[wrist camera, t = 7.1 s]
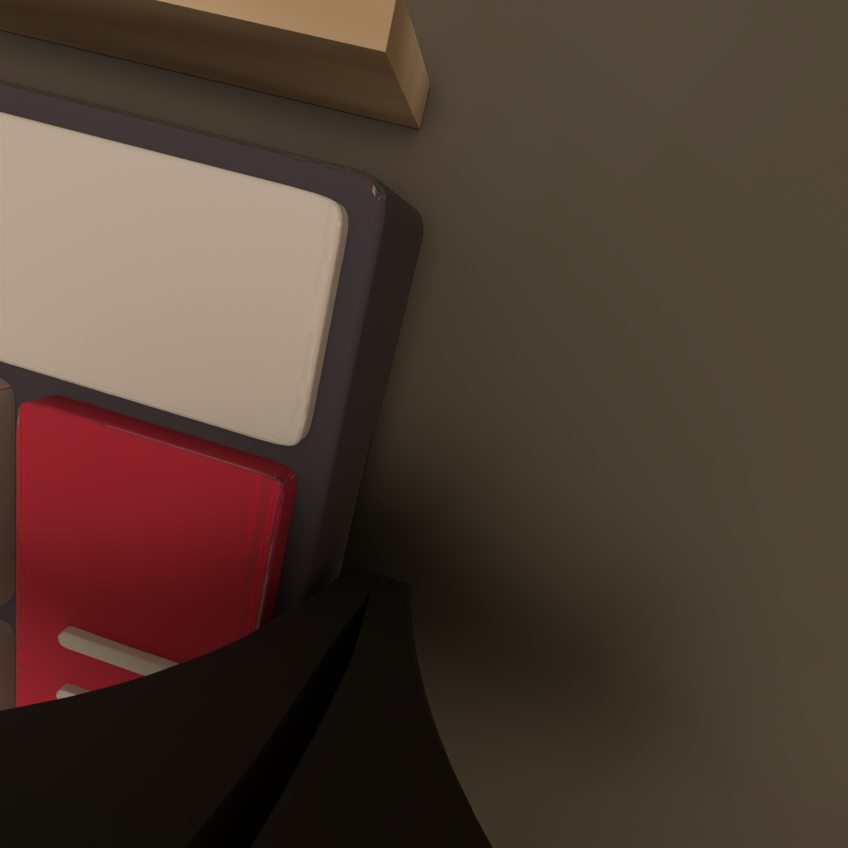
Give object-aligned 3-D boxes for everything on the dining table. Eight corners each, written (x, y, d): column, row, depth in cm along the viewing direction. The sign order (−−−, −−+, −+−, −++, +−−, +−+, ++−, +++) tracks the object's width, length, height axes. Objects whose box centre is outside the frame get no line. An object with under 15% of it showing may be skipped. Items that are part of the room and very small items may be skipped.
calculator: (-219, 757, 12) (-368, -23, 7) (-28, 633, 16) (-46, 89, 11) (224, 931, 11) (378, 163, 6) (304, 751, 15) (431, 210, 10)
